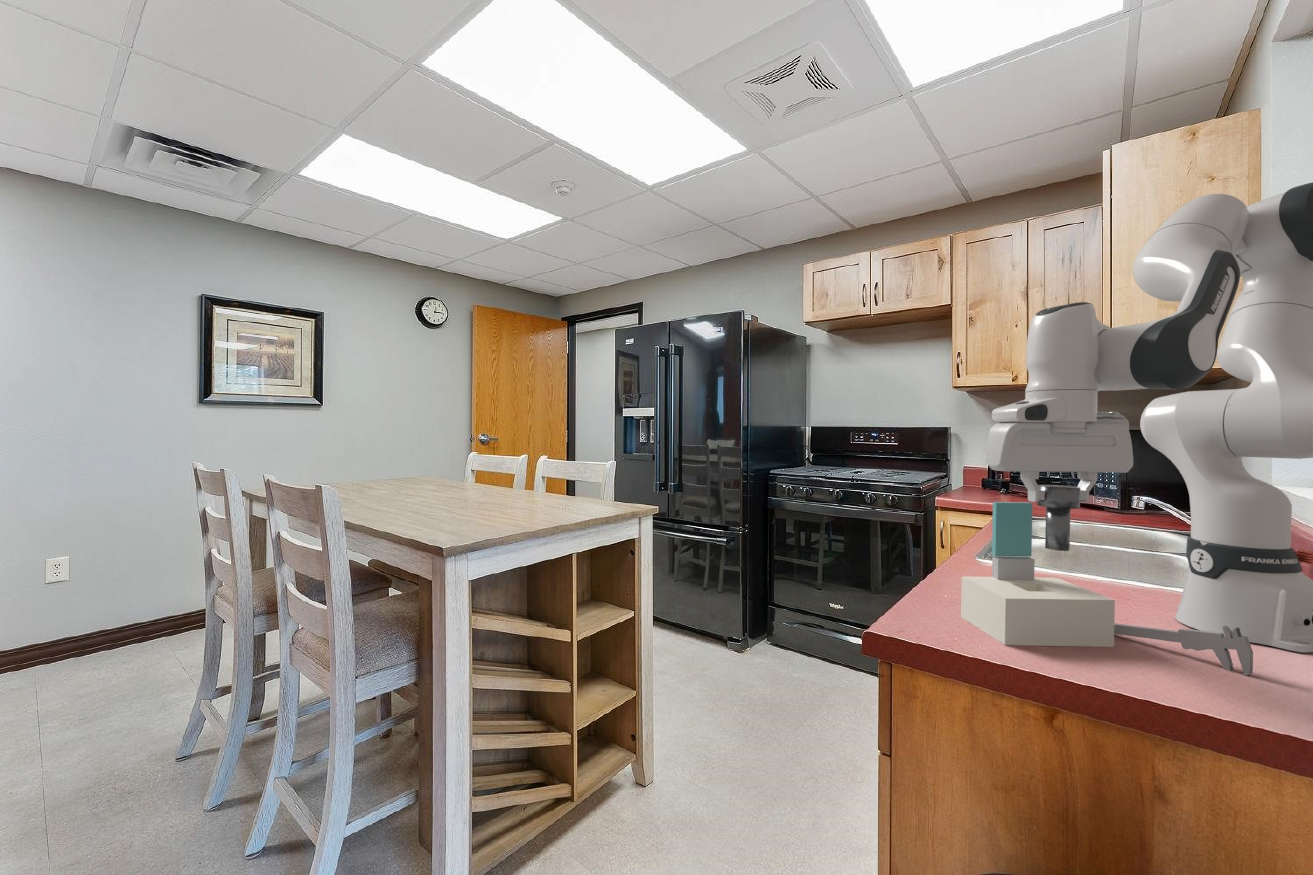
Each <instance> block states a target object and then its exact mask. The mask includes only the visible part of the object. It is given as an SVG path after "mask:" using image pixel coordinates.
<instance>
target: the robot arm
mask: <svg viewBox="0 0 1313 875" xmlns="http://www.w3.org/2000/svg"><path fill="white" fill-rule="evenodd" d="M1132 275H1133V279H1134V281H1135V283H1136V285H1137V286H1138V287H1139V288H1140V289H1141V290H1142V291H1143V292H1145V293H1146V294H1147V295H1149V296H1150V297H1153V298H1155V299H1158V300H1160V301H1161V300H1162V301H1166V302H1173V303H1174V302H1175V303H1176V302H1180V303H1179V305H1178V307H1177V310H1176V312H1174V313H1173V314H1170V315H1168V316H1166V317H1163V318H1159V319H1156V320H1152V321H1151V320H1150V321H1147V322H1141V323H1136V324H1130V325H1122V326H1118V327H1110V326H1108V325H1106V324H1104V323H1102V322H1101V321H1100V320H1099V319H1098V318H1097V313H1096V309H1095V306H1094V304H1093V303H1092V302H1091V303H1090V302H1087V301H1083V302H1082V301H1081V302H1072V303H1067V304H1063V305H1056V306H1053V307H1047V308H1045V309H1041V310H1039V311H1038V312H1036V313H1035V314H1033V316H1032V318H1031V320H1030V324H1029V327H1028V332H1027V339H1026V349H1025V351H1026V352H1025V366H1026V369H1027V372H1028V373H1027V374H1028V381H1027V384H1026V387H1025V391H1024V394H1025V395H1024V397H1025V398H1024V399H1023V400H1019V401H1017V402H1014V403H1010V404H1007V405H1003V406H1000V407H997V408H994V409H993V410H992V412H991V420H992V421H993V422H994V423H995V424H994V425H992V426H991V427H990V429H989V432H988V436H987V443H986V444H987V445H986V464H987V465H988V467H989V468H990V469H991V470H993V471H997V472H998V471H999V472H1019V474H1020V480H1021V481H1022V483H1023V485H1024V486H1025V488H1026V490H1027V500H1028V502H1031V503H1032V502H1033V503H1037V502H1044V501H1045V497H1044V496H1045V491H1044V490H1040V489H1039V487H1038V485H1039V484H1038V482H1036V480H1039V479H1040V478H1039V477H1040V472H1041V473H1042V472H1043V473H1045V472H1046V473H1077V479H1079V483H1078V484H1077V486H1076V487H1080V503H1088V502H1089V500H1090V499H1089V498H1090V492H1091V490H1092V489H1093V487H1094V486H1095V485H1096V482H1098V473H1117V474H1118V473H1119V474H1120V473H1121V474H1122V473H1125V474H1126V473H1128V472H1130V470H1131V469H1132V468H1133V466H1134V452H1133V444H1132V438H1131V433H1130V422H1129V420H1128V419H1127V418H1126V417H1125V416H1124V415H1123V414H1121V413H1120V412H1118V411H1098V398H1099V397H1098V393H1099V392H1101V391H1103V392H1105V391H1113V392H1114V391H1117V392H1118V391H1131V390H1147V389H1150V390H1186V389H1188V388H1190V387H1193V386H1194V385H1195V384H1196V383H1198V382H1200V381H1201V380H1202V379H1203V378H1204V377H1206V375H1208V373H1210V371H1211V370H1212V369H1213V367H1214V365H1215V363H1216V360H1217V363H1218V365H1219V367H1220V368H1221V369H1222V370H1224V372H1226V373H1227V374H1229V375H1231V376H1232V377H1235V378H1237V379H1239V380H1242V381H1245V382H1249V383H1250V385H1249V386H1247V387H1243V388H1233V389H1212V390H1192V391H1183V392H1179V393H1173V394H1169V395H1164V396H1159V397H1156V398H1154V399H1152V400H1151V401H1150V402H1149V403H1148V404H1147V405H1146V407H1144V410H1143V411H1142V413H1141V417H1140V422H1139V428H1140V432H1141V434H1142V437H1143V438H1144V440H1145V441H1146V442H1147V444H1148V445H1150V446H1151V447H1152V448H1153V449H1155V450H1157V451H1158V452H1160V453H1161V454H1163V455H1164V456H1165V457H1166V458H1167V459H1168V460H1170V461H1171V463H1172V464H1173V465H1174V466H1175V467H1176V469H1177V470H1178V472H1179V473H1180V475H1181V476H1182V478H1183V480H1184V482H1185V485H1186V488H1187V492H1188V495H1189V496H1188V497H1189V507H1190V509H1189V510H1190V536H1188V537H1187V539H1186V546H1185V548H1186V550H1185V551H1186V552H1185V553H1186V555H1185V557H1186V558H1187V562H1188V567H1187V569H1186V574H1185V578H1184V585H1183V589H1182V595H1181V598H1180V603H1179V604H1177V612H1176V614H1175V616H1174V618H1175V620H1176V621H1178V622H1179V623H1181V624H1184V625H1185V626H1187V627H1190V628H1192V629H1194V630H1200V631H1210V632H1219V633H1224V631H1223V627H1224V626H1228V627H1229V628H1230V629H1231V631H1232V632H1233V629H1234V628H1237V627H1239V629H1240V632H1241V636H1247V637H1248V639H1249V642H1250V643H1254V644H1259V645H1265V646H1271V647H1275V648H1279V649H1281V650H1282V649H1283V650H1287V651H1292V652H1296V653H1313V579H1312V578H1310V577H1309V576H1307V575H1306V574H1305V573H1303V571H1304V569H1303V567H1302V565H1301V563H1305V564H1307V565H1308V564H1309V565H1313V551H1311V550H1309V551H1308V550H1305V549H1298V550H1296V551H1295V549H1294V548H1293V547H1292V546H1291V545H1292V542H1291V541H1292V517H1293V516H1292V514H1293V513H1292V509H1293V505H1292V502H1291V500H1290V498H1289V497H1288V496H1287V495H1286V494H1285V492H1283V491H1282V489H1280V488H1278V487H1276V486H1274V485H1272V484H1270V483H1268V482H1266V481H1263V480H1261V479H1258V478H1255V477H1253V476H1252V475H1251V474H1250V473H1249V472H1248V471H1247V470H1246V468H1245V467H1244V463H1243V460H1242V458H1243V457H1244V458H1263V459H1264V458H1269V459H1270V458H1273V459H1295V460H1296V459H1297V460H1302V459H1303V460H1304V459H1312V458H1313V182H1308V183H1305V184H1301V185H1298V186H1294V187H1291V188H1290V189H1288V190H1287V191H1285V192H1282V193H1279V194H1277V195H1273V196H1271V197H1267V198H1265V199H1262V200H1259V201H1257V202H1254V203H1251V204H1250V205H1246V204H1245V202H1243V201H1242V200H1241V199H1239V198H1238V197H1236V196H1233V195H1229V194H1223V193H1212V194H1211V193H1210V194H1206V195H1202V196H1199V197H1196V198H1194V199H1192V200H1190V201H1189V202H1187V203H1185V204H1184V205H1182V206H1181V207H1180V208H1178V209H1177V210H1176V211H1175V212H1174V213H1172V215H1170V216H1168V218H1167V219H1166V220H1165V221H1163V223H1162V224H1161V225H1160V226H1159V227H1158V228H1157V229H1156V230H1155V231H1154V232H1153V234H1152V235H1151V236H1150V237H1149V238H1148V240H1147V241H1146V242H1145V244H1144V245H1143V246H1142V247H1141V249H1140V250H1138V252H1137V255H1136V257H1135V259H1134V262H1133V265H1132ZM1241 277H1242V283H1243V284H1242V287H1243V288H1242V290H1241V291H1240V293H1239V295H1238V296H1237V298H1236V300H1235V297H1236V294H1237V291H1238V288H1239V284H1240V280H1241ZM1234 300H1235V302H1234ZM1233 303H1234V304H1233ZM1231 308H1232V309H1231ZM1230 310H1231V311H1230ZM1229 312H1230V313H1229ZM1228 315H1229V316H1228ZM1227 317H1228V318H1227ZM1226 320H1227V321H1226ZM1225 322H1226V323H1225ZM1225 324H1226V325H1225ZM1224 325H1225V327H1224ZM1223 327H1224V330H1223V333H1222V329H1223ZM1221 333H1222V336H1221V339H1220V342H1219V338H1220V335H1221ZM1218 344H1219V345H1218ZM1224 636H1225V634H1224Z"/></svg>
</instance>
